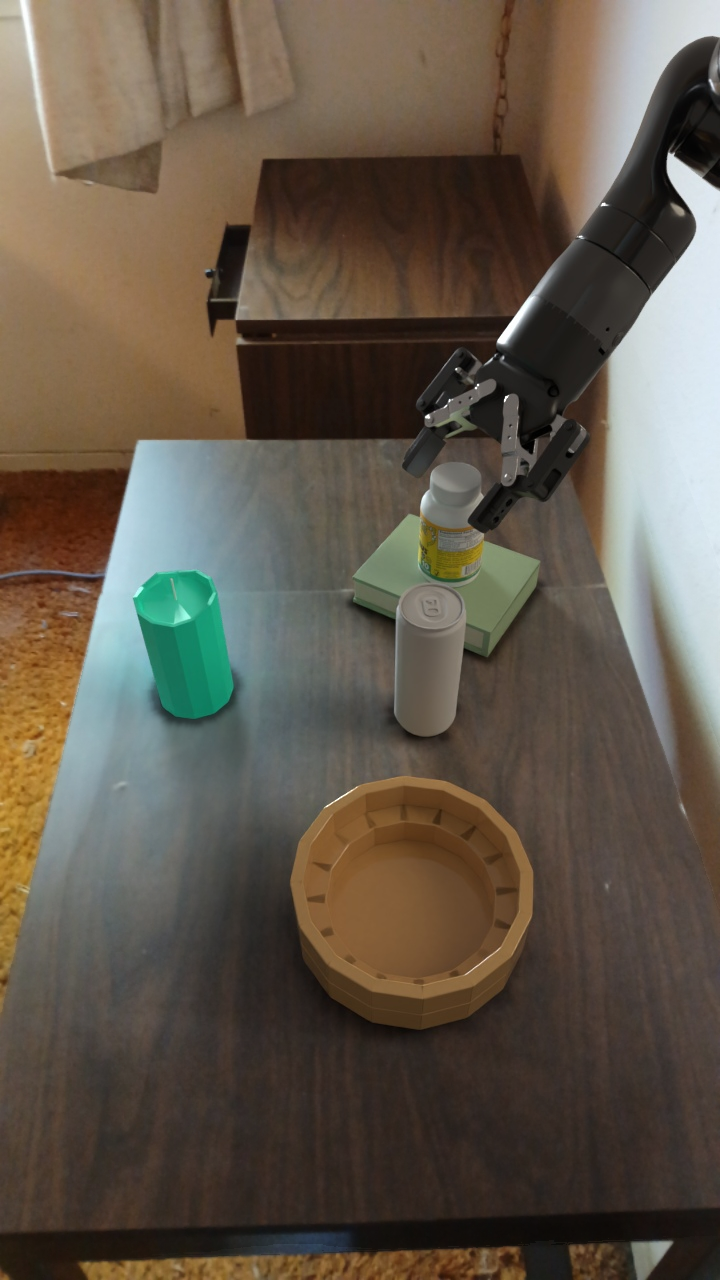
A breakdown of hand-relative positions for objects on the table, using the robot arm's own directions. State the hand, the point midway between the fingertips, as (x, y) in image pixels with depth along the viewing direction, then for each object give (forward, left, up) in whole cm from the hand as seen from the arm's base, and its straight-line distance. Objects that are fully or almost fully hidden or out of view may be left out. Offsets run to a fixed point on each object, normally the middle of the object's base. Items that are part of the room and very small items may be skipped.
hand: (441, 500), depth 70 cm
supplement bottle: (-1, -1, -8) cm, 8 cm away
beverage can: (-5, +12, -11) cm, 17 cm away
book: (0, -1, -11) cm, 11 cm away
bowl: (-12, +27, -11) cm, 32 cm away
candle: (+12, +19, -11) cm, 25 cm away
